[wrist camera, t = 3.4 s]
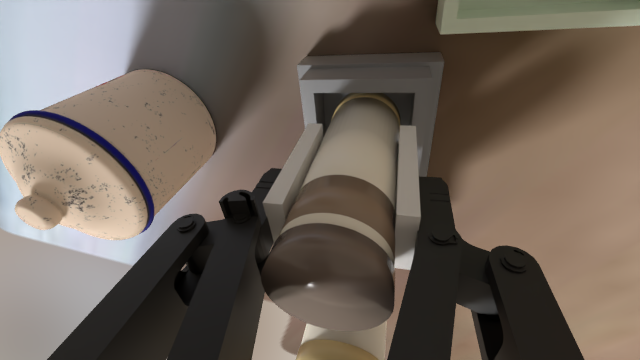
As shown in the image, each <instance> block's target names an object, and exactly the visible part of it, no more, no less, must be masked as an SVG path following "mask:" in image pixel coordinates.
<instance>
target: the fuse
mask: <svg viewBox="0 0 640 360" xmlns="http://www.w3.org/2000/svg"><path fill="white" fill-rule="evenodd" d="M386 328H387V320H386V321H385V322H384V323H382V324H381V325H379V326H377V327H374V328H371V329H367V330H362V331H335V330H329V329H324V328H320V327H317V326H313V325H311V324H308V323H307V325H306V328H305V332H304V336H303V339H302V343H301V346H300V347H299V350H298V354H297V357H296V360H385V347H386Z"/></svg>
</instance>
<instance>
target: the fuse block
mask: <svg viewBox="0 0 640 360" xmlns="http://www.w3.org/2000/svg"><path fill="white" fill-rule="evenodd" d="M443 67H444V59H443V57H442V54H441V52H424V53H393V54H362V55H331V56H306V57H305V58H304V59H303V60H302V61H301V62H300V63H299V64H298V65H297V69H298V77H299V85H300V92H301V100H302V108H303V116H304V124H305V129H306V127H307V125H308V124H309V123H312V124H322V126H323V137H324V136H325V134H326V131H327V129H328V127H329V125H330V123H331V119H332V116H333V114H334V112H335V110H336V107H337V106H338V104H339V103H340V101H341V100H342V99H343V98H344V97H346V96H347V95H349V94H350V93H383V94H385V95H386V96H388V97H389V98H390V99H391V100H392V101H393V102H394V103H395V105H396V106H397V108H398V110H399V113H400V125H402V126H416V138H417V156H418V174H419V176H420V177H427V171H428V165H429V158H430V152H431V145H432V139H433V132H434V126H435V119H436V113H437V106H438V100H439V93H440V87H441V80H442V74H443Z"/></svg>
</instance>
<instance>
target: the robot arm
mask: <svg viewBox="0 0 640 360" xmlns="http://www.w3.org/2000/svg"><path fill="white" fill-rule="evenodd" d="M323 138H324V137H323V126H322V124H312V123H309V124H308V125H307V127H306V129H305V130H304V132H303V134H302V136H301V137H300V139H299V141H298V143H297V144H296V146H295V148H294V149H293V151H292V153H291V155H290V156H289V158H288V160H287V161H286V163H285V165H284V167H283V168H282V169H275V168H271V169H270V170H269V171H267V172H266V173H265V174H264V175H263V176H262V178H261V179H260V181H259V183H258V184H257V185H256V188H254V190H253V191H252V193H251V192H249V191H247V190H237V191H233V192H230V193H228V194H226V195H225V196H223V197H222V198H221V200H220V201H219V203H220V206H221V209H222V211H223V214H224V217H225V219H223V220H218V221H211V222H206V221H205V219H204V218H203V216H202V215H199V214H189V215H185V216H183V217H181V218H179V219H177V220H176V221H175V222H174V223H172V225H171V226H170V227H169V228H168V229H167V230H166V231H165V232H164V233H163V234H162V235H161V236H160V238H159V239H158V240H157V241H156V242H155V243H154V244H153V245H152V246H151V247H150V248H149V249H148V251H147V252H146V253H145V254H144V255H143V256H142V257H141V258H140V259H139V260H138V261H137V262H136V264H135V265H134V266H133V267H132V268H131V269H130V270H129V271H128V272H127V273H126V275H124V277H123V278H122V279H121V280H120V281H119V282H118V283H117V284H116V285H115V286H114V287H113V289H112V290H111V291H110V292H109V293H108V294H107V295H106V296H105V297H104V299H103V300H102V301H101V302H100V303H99V304H98V305H97V306H96V307H95V308H94V309H93V310H92V311H91V313H90V314H89V315H88V316H87V317H86V318H85V319H84V320H83V321H82V322H81V323H80V324H79V326H78V327H77V328H76V329H75V330H74V331H73V332H72V333H71V334H70V335H69V336H68V338H67V339H66V340H65V341H64V342H63V343H62V344H61V345H60V346H59V347H58V348H57V349H56V351H54V353H53V354H52V355H51V356H50V357H49V358H48V359H47V360H166V359H167V360H251V359H252V354H253V348H254V344H255V338H256V333H257V329H258V323H259V318H260V313H261V308H262V303H263V298H264V293H265V290H264V288H263V286H262V282H261V272H262V269H263V267H264V265H265V262H266V260H267V258H268V256H269V254H270V252H269V251H270V249H271V247H272V245H273V244H274V243H275V241H276V239H277V238H278V237H279V234H280V232H281V230H282V227H283V225H284V223H285V221H286V219H287V216H288V214H289V212H290V210H291V208H292V205H293V203H294V201H295V199H296V197H297V194H298V193H299V191H300V189H301V187H302V185H303V182H304V180H305V178H306V176H307V174H308V171H309V169H310V167H311V165H312V162H313V160H314V158H315V156H316V154H317V151H318V149H319V147H320V145H321V143H322V140H323ZM185 263H186V265H187V266H186V267H185V268H184V269H183V270H182V271H181V269H182V267H183V266H184V265H185ZM394 268H400V269H408V270H410V273H409V277H408V281H407V285H406V288H405V292H404V296H403V300H402V304H401V308H400V312H399V316H398V320H397V324H396V328H395V331H394V335H393V339H392V343H391V347H390V351H389V355H388V359H387V360H450V356H451V347H452V337H453V327H454V318H455V308H456V303H457V304H459V305H461V306H464V307H466V308H468V309H471V312H472V317H473V321H474V326H475V330H476V335H477V339H478V344H479V348H480V352H481V357H482V360H584V358H583V356H582V354H581V352H580V349H579V347H578V345H577V343H576V341H575V339H574V337H573V335H572V333H571V331H570V328H569V326H568V324H567V322H566V320H565V318H564V316H563V314H562V312H561V310H560V308H559V305H558V303H557V301H556V299H555V297H554V295H553V293H552V291H551V289H550V287H549V285H548V282H547V280H546V278H545V276H544V274H543V272H542V270H541V268H540V266H539V264H538V263H537V261H536V260H535V259H534V258H533V257H532V256H531V255H529V254H528V253H527V252H525V251H523V250H521V249H519V248H516V247H511V246H498V247H496V248H494V249H492V250H491V252H489V251H486V250H483V249H480V248H477V247H475V246H473V245H470V244H469V243H467V242H465V241H464V240H463V239H462V238H461V236H460V235H459V233H458V232H457V231H456V229H455V225H454V219H453V213H452V208H451V203H450V197H449V191H448V185H447V184H446V183H445V182H444V181H443V180H442V178H437V177H420V176H419V174H418V156H417V138H416V126H402V125H400V132H399V145H398V168H397V192H396V218H395V264H394ZM167 357H168V358H167Z"/></svg>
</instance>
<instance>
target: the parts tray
mask: <svg viewBox="0 0 640 360" xmlns="http://www.w3.org/2000/svg"><path fill="white" fill-rule="evenodd" d="M435 24H436V26H437V28H438V31H439V33H440V35H441V34H464V33H486V32H508V31H530V30H552V29H574V28H596V27H618V26H640V0H438V6H437V14H436V21H435Z"/></svg>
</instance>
